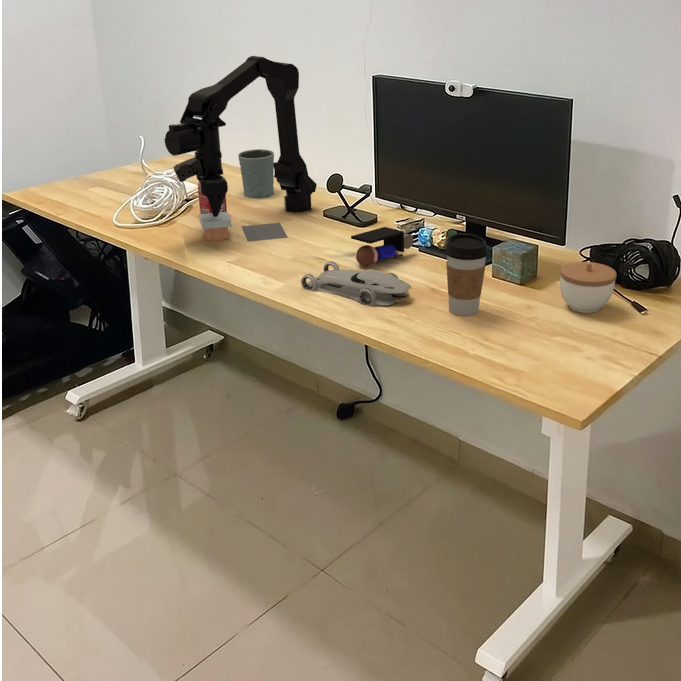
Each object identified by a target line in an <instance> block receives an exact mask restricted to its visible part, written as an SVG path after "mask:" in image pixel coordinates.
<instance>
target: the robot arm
mask: <svg viewBox="0 0 681 681" xmlns="http://www.w3.org/2000/svg"><path fill="white" fill-rule="evenodd" d="M259 77H260V78H263V79H264V80H265V84H266V88H267V91H268V92H269V93H270V95H271V97H272V98H273V101H274V107H275V116H276V123H277V124H276V125H277V126H276V128H277V135H278V144H279V146H278V147H279V157H278V160H277V161H276V162H274V164H273V167H274V174H273V175H274V177H273V178H274V179H276V182H277V183H278V184H279V187H280V189H281V191H285V196H283V198H284V199H283V200H284V202H283V203H284V210H285V212H286V213H305V212H308V211H312V194H313V193H315V192H316V190H317V183H316V182H315V181H314V180H313V179H312V178H311V177H310V176H309V173H308V168H307V164H306V162H305V160H304V159H303V157H302V156H301V154H300V148H299V147H300V146H299V137H298V127H297V126H298V125H297V117H296V116H297V115H296V104H295V98H296V97H295V96H296V95H297V92H298V90H299V87H300V86H299V85H300V72H299V69H298V67H297V66H296V65H295V64H293V63H288V62H287V63H286V62H279V61H274V60H270V59H268V58H266V57H264V56H258V55H257V56H256V55H251V56H249V57H247V58H246V60H245V61H244V62H243V63H241V64H240V65H239V66H238V67H237V68H235V69H233V70H232V71H231V72H230V73H228V74H227V75H225V77H223V78H222V79H220V80H219V81H218V82H216V83H215V84H213V85H210V86H207V87H203V88H201V89H198V90H197V91H194V92H192V93H191V94H189V97H188V98H187V99H188V101H187V104H186V107H185V109H184V111H183V113H182V115H181V118H180V120H179V123H177V124H175V123H173V124H169V125H168V131H167V132H166V133H165V136H164V145H165V148H166V150H167V151H168V153H169V154H170V155H171V156H174V157H175V156H179V155H183V154H189V153H192V152H194V157H191V158H189V159H186V160H184V161H182V162H179V163H177V164H175V165H174V166H173V171H174V173H175V175H176V177H177V179H178V181H179V182H180V183H183V182H186V180H188V179H190V178H192V177H195V176H196V179H197V181H198V182H199V181H200V190H201V193H202V194H203V195H205V196H206V197H207V198H208V202H209V205H210V207H211V210H212V214H213V217H217V216H218V215H219V212H220V209H221V206H222V203H223V200H224V198H225V195H226V194H227V193H228V191H229V187H228V181H227V179H226V178H225V177H224V176H223V175H224V170H223V166H222V164H223V163H222V158H223V155H222V151H221V140H220V129H219V128H221V127H225V126H226V125H227V123H226V121H224V120H223V119H222V118H220V116H221V115H222V114H223V112H224V111H226V109H227V107H228V104H229V102H230V101H231V99H232V98H234V97H235V96H237V94H239V93H241V91H243V90H244V89H245V88H247V87H248V86H250V84H252V83H253V82H255V81H256V80H257V79H258V78H259ZM226 196H227V195H226Z"/></svg>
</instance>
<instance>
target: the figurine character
mask: <svg viewBox="0 0 681 681" xmlns="http://www.w3.org/2000/svg"><path fill="white" fill-rule="evenodd" d="M350 239H351V240H356V241H358V242H362V243H366V244H367V245H366V244H365V245H362V246H360V247H359V248H358V249H357V250H356V253H355V259H356V262H357V263H358V264H359V265H360V266H362V267H365V268H370V267H372V266H374V265H375V264H376V263H377V261H380V260H384V259H388V258H393V257H394V258H398V257H402V256H404V254H403V253H404V252H405V250H408V249H411V247H412V246H413V244H414V236H413V235H412V234H409V233H405V231H403V230H399V229H394V228H391V227H387V226H383V227H380V228H376V229H375V228H374V229H372V230H369V231H365V232H360V233H358V234H354V235H351V236H350ZM381 241H383V244H382V245H377V246H375V247H374V246H372V245H371V244H374V243H377V242H381ZM368 244H370V245H368Z"/></svg>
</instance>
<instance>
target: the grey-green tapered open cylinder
mask: <svg viewBox="0 0 681 681" xmlns="http://www.w3.org/2000/svg"><path fill="white" fill-rule="evenodd" d="M237 157H238V161H239V166H240V168H239V169H240V174H241V180H242V188H243V194H244V196H245V197H247V198H248V199H265V198H270V197H272V196H273V195H274V193H275V192H274V190H275V189H274V182H275V180H274V179H275V177H274V174H275V171H274V166H273V164H274V163H275V162H274V161H275V159H274V158H275V153H274V151H272V150H270V149H269V150H268V149H261V148H259V149H258V148H257V149H249V150H244V151H241V152H239V153H238V155H237Z"/></svg>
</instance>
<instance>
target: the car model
mask: <svg viewBox="0 0 681 681" xmlns="http://www.w3.org/2000/svg"><path fill="white" fill-rule="evenodd" d="M329 266H331V267H332V268H333V269H331V270H329ZM322 269H323V272H320V274H319V275H317V276H315V275H313V274H311V273H306V274H304V275H303V276H302V277H301V279H300V283H301V287H302V289H304V290H309V291H313V292H314V291H316V292H323V293H329V294H332V295H338V296H342V297H345V298H347V299H351V300H353V301H355V302H358V303H360V304H361V305H366V306H373V307H389V306H392V305H394V304H397V303H398V302H399V300H397V299H396V298H405V297H407V295H408V294H409V290H410V289H411V288H412V285H411V284H410V283H408V282H406V281H404V280H403V279H400V278H399V277H398V276H397V274H395V273H394V272H388V273H385V272H383V271H379V270H376V269H365V270H353V269H340V266H339V264H338V263H337V262H335V261H331V260H330V261H327V262H326V263H325V264H324V266H323V268H322ZM307 279H309V281H307Z"/></svg>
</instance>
